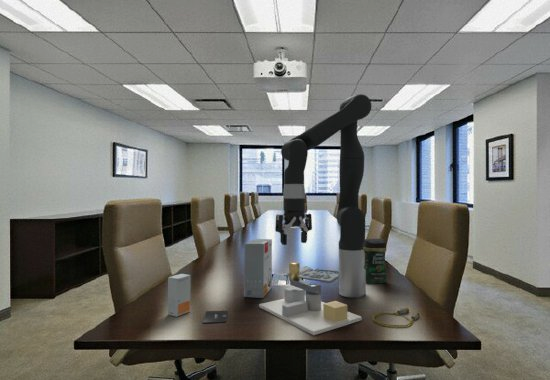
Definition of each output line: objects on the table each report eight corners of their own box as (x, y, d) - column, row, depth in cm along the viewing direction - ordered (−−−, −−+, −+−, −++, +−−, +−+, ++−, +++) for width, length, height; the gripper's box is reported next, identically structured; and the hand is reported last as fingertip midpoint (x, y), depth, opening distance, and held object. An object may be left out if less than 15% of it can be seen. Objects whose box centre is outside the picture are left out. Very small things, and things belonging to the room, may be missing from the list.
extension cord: (433, 326, 98) (433, 320, 98) (383, 331, 95) (383, 324, 95) (409, 312, 110) (409, 306, 110) (364, 316, 107) (364, 309, 107)
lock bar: (324, 292, 109) (324, 268, 109) (312, 294, 106) (312, 270, 106) (296, 282, 121) (296, 261, 121) (285, 284, 118) (285, 263, 118)
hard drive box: (263, 298, 124) (263, 244, 124) (243, 297, 125) (243, 243, 125) (272, 287, 139) (272, 238, 139) (254, 286, 140) (254, 238, 141)
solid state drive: (227, 312, 111) (227, 310, 111) (226, 324, 101) (226, 321, 101) (206, 313, 110) (206, 311, 110) (202, 324, 100) (202, 322, 100)
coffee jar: (367, 284, 142) (366, 240, 142) (361, 279, 150) (360, 237, 150) (389, 283, 143) (389, 239, 143) (382, 279, 151) (381, 237, 151)
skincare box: (176, 317, 106) (176, 278, 106) (167, 314, 108) (167, 277, 108) (191, 311, 111) (191, 274, 111) (182, 309, 113) (181, 273, 113)
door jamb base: (303, 297, 125) (302, 280, 125) (361, 320, 102) (361, 300, 102) (259, 307, 115) (259, 289, 115) (313, 335, 91) (313, 313, 92)
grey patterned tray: (283, 271, 158) (303, 264, 175) (283, 277, 158) (303, 269, 175) (329, 277, 146) (346, 268, 163) (330, 283, 146) (346, 274, 163)
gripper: (283, 197, 111) (283, 246, 111) (316, 197, 119) (316, 243, 119) (271, 197, 118) (271, 244, 117) (303, 197, 126) (303, 240, 125)
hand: (294, 243), depth 118 cm, fingers open, 8 cm apart
